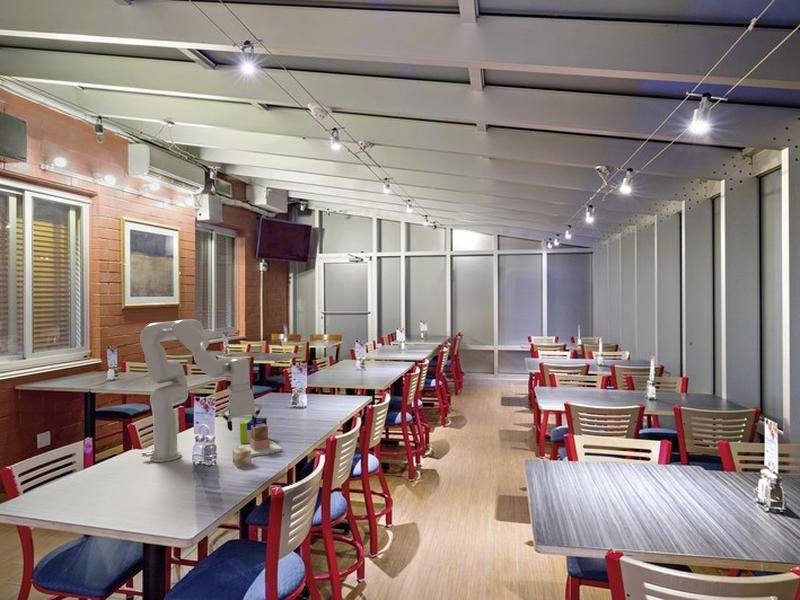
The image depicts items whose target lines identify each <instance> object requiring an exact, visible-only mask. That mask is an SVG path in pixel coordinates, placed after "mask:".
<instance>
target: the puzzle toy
mask: <svg viewBox="0 0 800 600" xmlns="http://www.w3.org/2000/svg"><path fill="white" fill-rule="evenodd" d="M256 421H257V424H265V425H267V423H268V422H267V417H256ZM257 424H255V425H257ZM251 425H252V417H251V418H250V417H248V418H247V417H246V418H245V419H244V420H243V421H241V422H240V423H239V432H240V433H239V434H240V435H239V436H240V442H239V443H250V438H251ZM267 426H268V425H267Z"/></svg>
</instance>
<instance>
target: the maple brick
mask: <svg viewBox="0 0 800 600" xmlns="http://www.w3.org/2000/svg"><path fill="white" fill-rule="evenodd" d="M233 463H234V464H233ZM232 464H233V465H234V466H235V468H240V466H241V467H245V465H246V466H250V465H252V457H251V450H250V449H249V448H247V447H244V448H239V449H238V448H234V449H232Z"/></svg>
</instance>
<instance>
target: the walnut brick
mask: <svg viewBox="0 0 800 600" xmlns="http://www.w3.org/2000/svg"><path fill="white" fill-rule="evenodd" d="M268 438H269V426H268V425H265V424H257V425H256V427H253V426H252V425H251V439H253V440H254V441H260V440H266V439H268Z"/></svg>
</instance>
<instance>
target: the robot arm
mask: <svg viewBox="0 0 800 600" xmlns="http://www.w3.org/2000/svg"><path fill="white" fill-rule="evenodd" d="M203 333H204V326H203V324H202V322H201V321H200V320H198V319H195V318H187V319H180V320H173V321H171V320H170V321H159V322H153V323H149V324H148V325H145V327H144V328H142V330H141V332H140V336H139V342H140V347H141V349H142V351H143V354H144V359H145V364H146V369H147V374H148V377H149V380H150V382H151V383H152V384H155V385H160V384H165V383H167V385H164V386H163V385H162V386H159V387H157V388H156V389H154V390H153V391H152V392H151V394H150V396H149V403H150V407H151V412H152V424H153V425H152V427H153V428H152V429H153V432H152V433H153V447H152V449H150V450H149V451H142V452H141V457H146V458H148V457H149V460H150V461H151V462H152V463H153V462H154V463H164V462H170V461H174V460H177V459H179V458H181V457H182V452H181V451H178V420H177V419H178V417H177V413H176V411H175V409H174V406H177V405H180V404H183V403H184V402H186V401H187V399H188V396H189V387H188V384H187V382H188V381H187V378H186V374H185V369H184V366H183V365H182V363H180V362H179V361H178V360H175V359H170V360H168V357H167V351H166V350H165V347H164V346H163V345H162V344H161V342H165V341H166V342H168V341H175V340H178V341H179V342H180V343H181V344H182V345H183V346H185V347H186V348H187V349H188V350H189V351H190V352H191V353H192V355H193V358H194V359H193V360H194V362H195V365H196V366H197V367H198V369H200V370H201V371H202V372H203V373H204V374H205V375H207V376H208V377H210V378H213V379H218V378H222V377H226V376H230V385H229V386H227V390H228V391H229V390H230V392H229V395H228V406H226V407H225V408H223V409H222V410H220V411H219V414H220V415H221V417H222V419H225V420H226V422H227V423H226V427H227V429H228V430H229V431H230V432H232V431H233V421H232V419H233V418H234V417H242V416H248V415H252V416H251V418H252V426H253V427H256V425H255V424H257V421H256V418H258V416H259V414H260V413H261V410H262V408H263V405H261V404H258V403H256V402H255V398H254V392H253V389H251V383H250V362H249V359H248V358H246V357H245V358H244V357H241V358H240V357H237V358H234V357H223V358H217V359H215V358H214V357H213V356H212V355H210V353H209V352H208V351H207V348H208V347H209V344H210V340H209V338H208V337H206V335H205V334H203ZM256 408H257V409H256ZM226 412H228V415H226Z"/></svg>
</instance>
